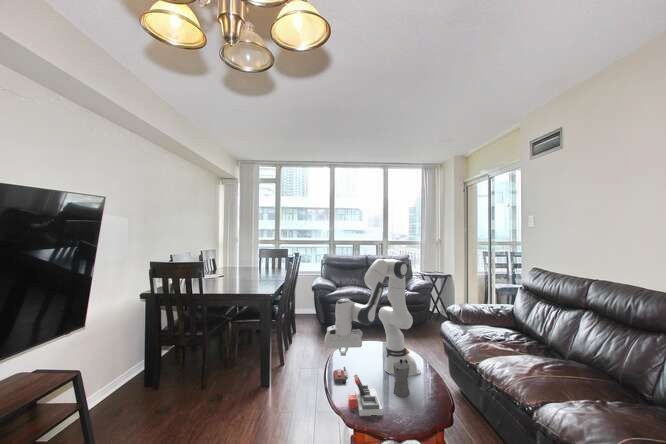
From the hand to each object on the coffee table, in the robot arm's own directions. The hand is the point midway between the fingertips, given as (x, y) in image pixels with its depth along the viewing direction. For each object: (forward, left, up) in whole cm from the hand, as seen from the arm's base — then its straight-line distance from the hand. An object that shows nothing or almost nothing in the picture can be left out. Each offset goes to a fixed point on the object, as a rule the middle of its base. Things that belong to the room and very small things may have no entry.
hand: (343, 355), depth 160 cm
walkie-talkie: (0, -24, -23) cm, 33 cm away
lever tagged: (-11, +6, -19) cm, 23 cm away
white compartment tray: (-12, +7, -22) cm, 26 cm away
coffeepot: (-33, -4, -23) cm, 40 cm away
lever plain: (-11, 0, -19) cm, 22 cm away
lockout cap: (-4, +8, -22) cm, 24 cm away
